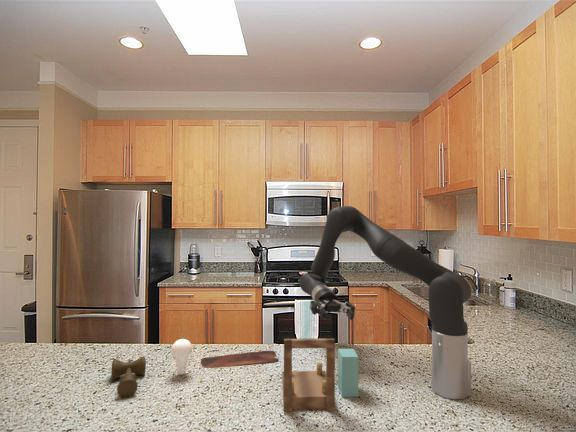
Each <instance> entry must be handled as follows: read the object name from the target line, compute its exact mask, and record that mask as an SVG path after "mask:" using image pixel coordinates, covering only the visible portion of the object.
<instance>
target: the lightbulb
mask: <svg viewBox="0 0 576 432" xmlns="http://www.w3.org/2000/svg"><path fill="white" fill-rule="evenodd" d="M192 346H193V345H192V343H191V341H190V340H188V339H185V338H180V339H177V340H176V341H174V342H173V344H172V347H171V354H172V356H173V358H174V359H175V363H176V367H177V368H176V369H177V375H180V376H182V375H184V374H186V372H187V366H188V360H189V358H190V355H191V353H192V351H193V347H192Z"/></svg>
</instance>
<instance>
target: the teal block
mask: <svg viewBox="0 0 576 432" xmlns="http://www.w3.org/2000/svg"><path fill="white" fill-rule="evenodd" d="M337 388H338V389H339V393H340V395H341V398H357V397H356V396H358V397H359V356H358V354H357V352H356V350H355V349H354V348H338V349H337ZM352 396H353V397H352ZM354 396H355V397H354Z"/></svg>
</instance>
